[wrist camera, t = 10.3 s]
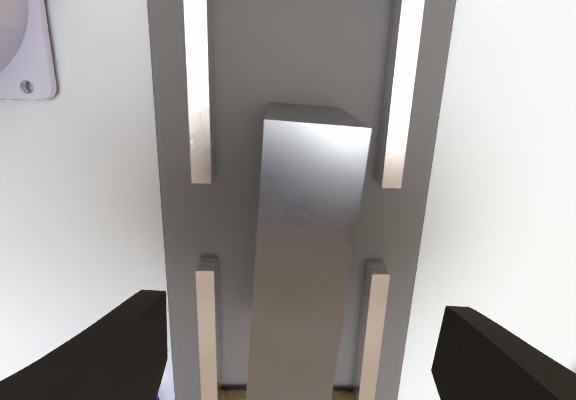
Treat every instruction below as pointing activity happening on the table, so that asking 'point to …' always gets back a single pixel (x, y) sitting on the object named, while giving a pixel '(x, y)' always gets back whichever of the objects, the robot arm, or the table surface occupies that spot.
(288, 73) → the grey slide base plate
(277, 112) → the dark gray rectangular chunk
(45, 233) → the table surface
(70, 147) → the table surface
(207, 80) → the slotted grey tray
